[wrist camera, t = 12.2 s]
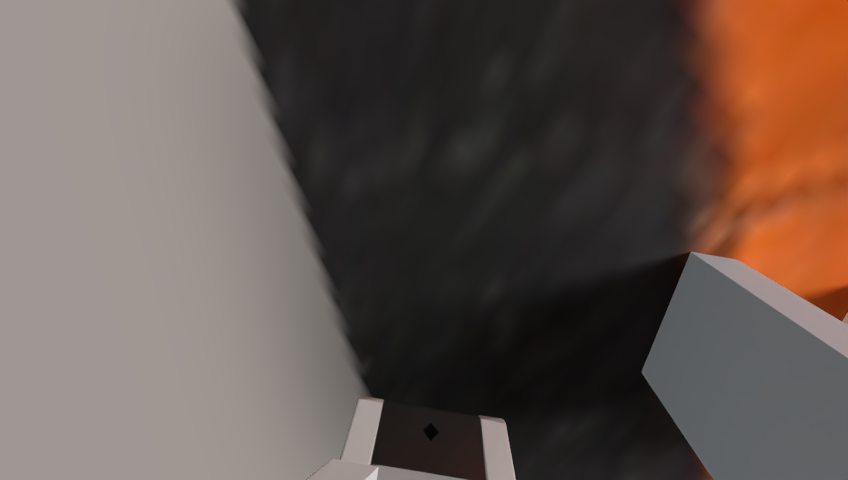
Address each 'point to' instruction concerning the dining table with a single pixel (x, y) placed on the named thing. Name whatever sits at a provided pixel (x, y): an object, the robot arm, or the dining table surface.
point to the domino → (752, 375)
